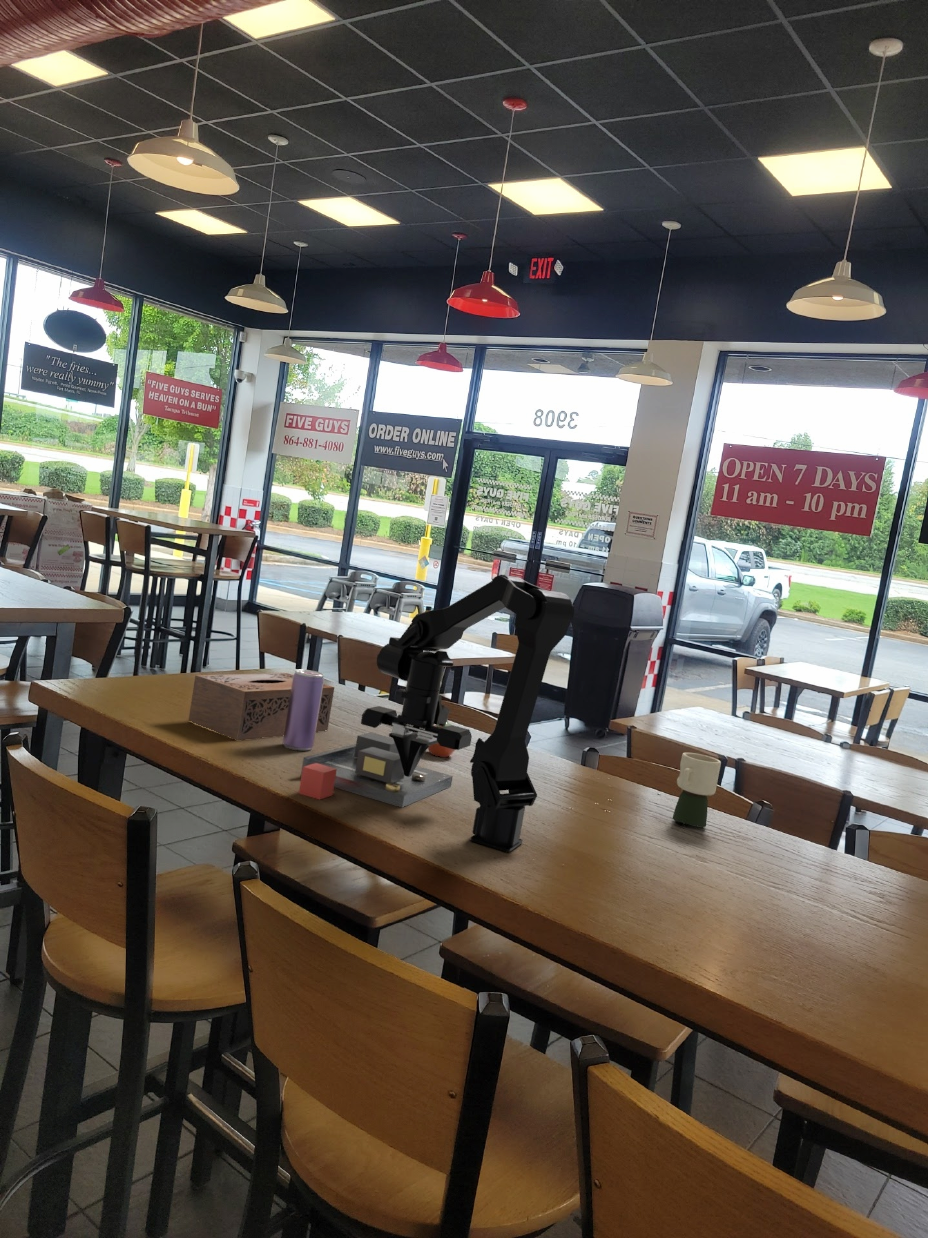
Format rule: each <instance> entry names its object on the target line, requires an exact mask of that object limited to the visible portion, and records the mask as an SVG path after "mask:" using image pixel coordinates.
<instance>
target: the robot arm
mask: <svg viewBox="0 0 928 1238" xmlns="http://www.w3.org/2000/svg"><path fill="white" fill-rule="evenodd" d="M504 608H506V609H507V610H509V611H510V612H512V613H514V614H515V617H514V628H515V633H516V638H517V641H518V645H517V649H516V652H515V655H514V656H515V657H514V660H513V663H512V666H511V670H510V674H509V677H508V681H507V684H506V688H505V692H504V693H503V698H502V702H501V704H500V705H501V706H500V709H499V713H498V716H497V719H496V722H495V727H494V729H493V732H492V733H491V734H489V736H488V737H478V739H477V740H476V742H475V747H474V752H473V755H472V758H471V759H470V760H469V763H472V764H471V769H470V775H471V777H472V778H471V779H472V791H473V792H472V793H473V801H475V802H477V803H478V804H479V806H478V807H477V808H476V809H475V815H474V821H473V827H472V835H471V836H470V841H471V842H472V843H473V842H474V843H478V844H481V845H484V846H487V847H490V848H493V849H496V850H500V851H502V852H506V853H507V852H508V853H510V852H512V851H513V850H514V849H515V848H517V847H519V846H520V845H521V844H523V839H522V838H520V837H521V833H522V827H523V823H524V822H523V821H524V815H525V811H526V807H532V806H533V805H534V803H535V802H536V800H537V797H538V793H537V791H536V789H535V787H534V785H533V782H532V780H531V778H530V775H529V774H528V767H529V762H530V756H529V751H528V747H527V742H526V737H527V736H528V735H527V734H528V731H529V727H530V723H531V720H532V716H533V714H534V709H535V706H536V703H537V701H538V697H539V693H540V690H541V689H540V688H541V686H542V682H543V678H544V675H545V672H546V669H547V666H548V662H549V659H550V655H551V652H552V651H553V650H554V649H555V648H556V647H557V645H559V644H560V642H561V641H562V640H563V638H565V636H566V634H567V632H568V630H569V628H570V625H571V623H572V622H573V618H574V615H575V606H574V605H573V603H572V599H571V598H570V596H568V595H567V594H566V593H565V592H560V591H553V590H547V589H545V588H542V587H540V586H537V585H534V584H532V583H530V582H529V581H526V580H524V579H523V578H521V577H520V576H514V575H506V574H499V575H497V576H496V575H495V576H494V577H493V578H492V579H491V581H489V582H487V583H486V584H485V585H483V586H481V587H479V588H477V589H476V590H474V591H473V592H471V593H469V594H468V595H465V596H464V597H462V598H460V599H459V600H458V601H455V602H453V603H452V604H450V605H448V606H446V607H443V608H438V609H436V608H435V609H431V610H427V611H424V612H421V613H417V614H416V615H415V616H414V617H413V618H412V620H411V623H410V624H409V625H408V627H407V629H406V630H405V631H404V632H403V634H402V635H401V636H400V637H394V636H393V637H392V636H391V637H389V638H388V639H389V641H388V643H387V644H384V645H383V647H382V648H381V650H380V651H379V652H378V654H377V656H376V665H377V668H378V671H380V672H381V673H382V674H385V675H387V676H391V677H392V678H396V679H398V680H401V681H404V682H406V686H405V690H402V691H401V696H400V698H403V703H402V708H401V709H402V710H401V714H398V713H397V710H396V709H393V708H389V707H385V706H380V705H377V706H373V707H369V708H368V707H367V708H366V709H365V710H364V711H363V712H362V714H361V718H360V719H361V721H360V724H361V725H363V726H366V727H369V728H373V729H376V728H378V727H379V726H381V725H386V726H390V727H392V728H391V729H392V730H391V732H390V733H389V734H388V737H390V738H393V740H394V742H395V745H396V747H397V750H398V753H399V756H400V760H401V764H402V768H403V772H404V775H405V776H407V777H410V776H411V775H412V773H413V772H414V770H415V768H416V766H418V764H419V763H420V762H421V759H422V757H423V756H424V754H425V752H426V751H427V750H428V747H429V746H430V745H433V744H436V743H439V745H440V746H443V747H447V748H450V749H454V750H455V751H457V750H462V749H465V748H468V747H470V746H471V743H472V742H471V741H472V739H473V738H472V737H473V735H472V733H471V730H470V729H468V728H465V727H460V726H457V725H454V724H453V725H452V724H451V725H450V726H446V727H445V725H446V721H447V719H448V718H449V715H450V711H451V709H450V708H449V707H447V706H446V705H444V704H442V699H443V698H442V694H440V690H441V684H442V680H443V679H442V678H443V674H444V668H445V667H449V668H451V667H454V662H453V660H452V658H451V657H449V654H448V652H447V651H443V650H448V649H450V648H451V647H453V646H454V645H455V644H456V643H458V642H459V640H461V639H462V637H463V635H464V632H465V631H466V630H467V629H468V628H470V627H472V626H475V624H478V623H479V622H481V621H483V620H485V619H487V618H489V617H490V616H492V615H494V614H496V613H498V612H499V611H502V610H503V609H504ZM438 724H439V726H443V727H442V728H440V727H436V726H434V725H438ZM503 791H508V793H501V792H503Z"/></svg>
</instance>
